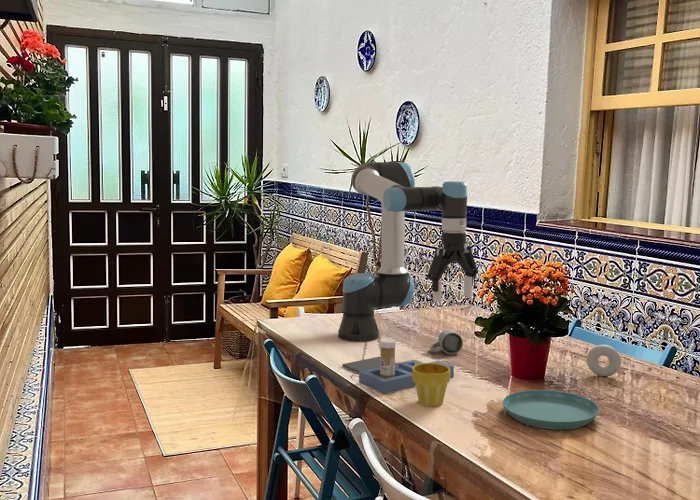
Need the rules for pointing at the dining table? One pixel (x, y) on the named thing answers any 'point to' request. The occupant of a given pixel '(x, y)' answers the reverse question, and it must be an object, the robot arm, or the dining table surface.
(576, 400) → the saucer
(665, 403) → the dining table surface
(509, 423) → the dining table surface
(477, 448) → the dining table surface
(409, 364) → the dish
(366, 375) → the dish
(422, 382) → the plant pot
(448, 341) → the ceramic mug
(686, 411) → the dining table surface
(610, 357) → the donut
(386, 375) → the sprinkles bottle
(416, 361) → the cream block
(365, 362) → the mat
